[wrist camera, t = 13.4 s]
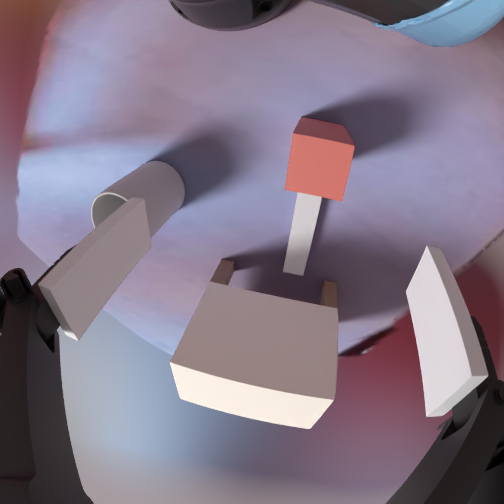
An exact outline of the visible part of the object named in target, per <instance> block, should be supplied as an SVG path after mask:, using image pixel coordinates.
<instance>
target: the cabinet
mask: <svg viewBox="0 0 504 504" xmlns="http://www.w3.org/2000/svg"><path fill="white" fill-rule="evenodd" d="M234 262H235V261H230V260H225V259H222V260H221V262H220V264H219V266H218V267H217V269H216V271H215V273H214V275H213V277H212V279H211V281H210V283H209V285H208V287H207V289H206V291H205V293H204V295H203V297H202V299H201V301H200V303H199V305H198V307H197V309H196V311H195V312H194V314H193V316H192V318H191V320H190V322H189V324H188V326H187V328H186V330H185V332H184V334H183V336H182V339H181V341H180V343H179V345H178V347H177V349H176V351H175V353H174V355H173V357H172V359H171V361H170V365H171V368H172V372H173V375H174V379H175V382H176V386H177V389H178V393H179V396H180V399H183V400H186V401H189V402H192V403H195V404H199V405H202V406H205V407H209V408H212V409H216V410H219V411H223V412H227V413H231V414H235V415H239V416H243V417H247V418H252V419H257V420H261V421H266V422H271V423H276V424H281V425H287V426H293V427H300V428H306V429H310V428H311V427H312V426H313V425H314V424H315V422H316V421H317V420H318V419H319V418H320V417H321V415H322V414H323V413H324V412H325V410H326V409H327V408H328V407H329V405H330V404H331V403H332V402H333V400H334V397H335V393H336V377H337V357H338V286H337V282H332V281H327V280H325V281H324V284H323V287H322V293H321V305H317V304H312V303H307V302H302V301H297V300H292V299H287V298H282V297H277V296H273V295H268V294H263V293H259V292H254V291H250V290H245V289H241V288H236V287H232V286H228V284H229V281H230V279H231V277H232V275H233V272H234Z"/></svg>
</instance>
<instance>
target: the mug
mask: <svg viewBox="0 0 504 504" xmlns="http://www.w3.org/2000/svg"><path fill="white" fill-rule="evenodd" d="M132 197H133V198H142V199H145V207H146V213H147V220H148V226H149V232H150V238H152V236H153V235H154V234H155V233H156V232H157V231H158V230H159V229H160V228H161V227H162V226H163V224H164V223H165V222H166V221H167V220H168V219H169V218H170V217H171V216H172V215H173V214H174V213H175V212H176V211H177V210H178V209H179V208H180V207H181V205H182V203H183V201H184V198H185V186H184V183H183V180H182V178H181V176H180V175H179V173H178V172H177V171H176V170H175V169H174V168H173V167H172V166H171V165H169V164H167V163H165V162H162V161H150V162H147V163H145V164H143V165H142V166H140V167H139V168H137V169H136V170H134V171H133V172H131V173H129V174H128V175H126V176H125V177H123V178H122V179H120V180H119V181H117V182H116V183H114V184H113V185H111V186H110V187H108V188H107V189H105V190H104V191H102V192H101V193H100V194H99V195H98V196H97V197H96V198H95V199H94V201H93V203H92V207H91V217H92V222H93V225H94V227H95V228H96V227H97V226H98V225H99V224H101V223H102V222H103V221H104V220H105V219H106V218H107V217H109V216H110V215H111V214H112V213H113V212H114V211H116V210H117V209H118V208H119V207H120V206H122V205H123V204H124V203H125V202H127V201H128V200H129V199H130V198H132Z"/></svg>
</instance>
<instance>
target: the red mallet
mask: <svg viewBox="0 0 504 504" xmlns="http://www.w3.org/2000/svg"><path fill="white" fill-rule="evenodd" d="M354 148H355V145H354V143H353V141H352V139H351V137H350V136H349V134H348V132H347V130H346V128H345V126H344V125H340V124H336V123H331V122H326V121H322V120H316V119H311V118H306V117H301V118H300V120H299V122H298V124H297V126H296V128H295V130H294V132H293V137H292V144H291V151H290V158H289V165H288V171H287V178H286V185H285V190H289V191H294V192H298V194H297V199H296V205H295V210H294V216H293V221H292V227H291V232H290V237H289V242H288V248H287V253H286V258H285V263H284V268H283V272H286V273H291V274H296V275H301V276H303V274H304V270H305V267H306V263H307V259H308V255H309V251H310V247H311V243H312V238H313V234H314V230H315V226H316V222H317V217H318V213H319V208H320V204H321V199H322V197H324V198H328V199H333V200H338V201H342V200H343V196H344V192H345V188H346V183H347V179H348V175H349V171H350V166H351V162H352V157H353V153H354Z"/></svg>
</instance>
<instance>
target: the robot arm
mask: <svg viewBox="0 0 504 504" xmlns="http://www.w3.org/2000/svg"><path fill="white" fill-rule="evenodd" d="M169 1H170V3H171V5H172V6H173V8H174V9H175V10H176V11H177V13H178V14H180V15H181V16H182V17H183V18H185V19H186V20H188V21H190V22H192V23H194V24H196V25H199V26H202V27H205V28H208V29H212V30H218V31H238V30H244V29H249V28H252V27H256V26H258V25H261V24H263V23H265V22H267V21H269V20H271V19H273V18H274V17H276V16H277V15H279V14H280V13H281V12H282V11H283V10H284V9H285V8H286V7H287V6H288V5H289V4H290V3H291V1H292V0H169ZM307 1H311V2H314V3H318V4H322V5H325V6H328V7H332V8H335V9H338V10H341V11H344V12H347V13H350V14H353V15H355V16H358V17H361V18H363V19H366V20H369V21H371V22H372V24H373V25H375V26H377V27H379V28H383V29H389V30H394V31H397V32H399V33H401V34H403V35H406V36H408V37H410V38H412V39H414V40H416V41H418V42H420V43H423V44H425V45H429V46H432V47H445V46H446V47H455V46H459V45H462V44H465V43H468V42H470V41H473V40H475V39H477V38H478V37H480V36H482V35H483V34H485V33H486V32H488V31H489V30H490V29H491V28H493V27H494V26H495V25H496V24H497V23H499V22H500V21H501V19H502V18H503V17H504V0H307ZM151 246H152V244H151V238H150V232H149V226H148V220H147V213H146V207H145V199H142V198H133V197H132V198H130V199H129V200H128V201H127V202H125V203H124V204H123V205H122V206H120V207H119V208H118V209H117V210H116V211H114V212H113V213H112V214H111V215H110V216H109V217H107V218H106V219H105V220H104V221H103V222H102V223H101V224H99V225H98V226H97V227H96V228H95V229H94V230H93V231H92V232H90V233H89V234H88V235H87V236H86V237H85V238H84V239H83V240H82V241H81V242H80V243H79V244H77V245H76V246H74V247H72V248H70V249H69V250H67V251H66V252H65V253H64V254H63V255H62V256H61V257H60V259H58V260H57V261H56V262H55V263H54V265H52V266H51V267H50V268H49V269H48V270H47V271H46V272H45V273H44V274H43V275H42V276H41V277H40V278H39V279H38V280H37V281H36V282H35V283H34V285H33V286H31V284H30V282H29V280H28V278H27V276H26V274H25V272H24V270H23V269H21V268H16V269H13V270H10V271H8V272H7V273H6V274H5V275H4V276H3V277H2V278H1V279H0V287H1V288H0V504H94V503H93V502H92V501H91V499H90V498H89V497H88V496H87V495H86V493H85V492H84V490H83V487H82V485H81V481H80V478H79V474H78V470H77V467H76V463H75V459H74V455H73V450H72V446H71V441H70V437H69V431H68V426H67V419H66V413H65V407H64V399H63V391H62V380H61V368H60V348H59V334H58V332H57V329H58V327H59V326H61V328H62V329H63V331H64V333H65V334H66V335H67V336H70V337H71V338H73V339H75V340H78V341H79V340H80V338H81V337H82V335H83V334H84V333H85V331H86V330H87V328H88V327H89V326H90V324H91V323H92V322H93V320H94V318H95V317H96V316H97V315H98V313H99V312H100V311H101V309H102V308H103V307H104V305H105V304H106V303H107V301H108V300H109V299H110V297H111V296H112V295H113V293H114V292H115V291H116V290H117V288H118V287H119V286H120V284H121V283H122V282H123V281H124V279H125V278H126V277H127V276H128V274H129V273H130V272H131V271H132V269H133V268H134V267H135V266H136V265H137V263H138V262H139V261H140V260H141V258H142V257H143V256H144V255H145V254H146V252H147V251H148V250H149V249H150V248H151ZM1 289H2V290H1ZM2 291H3V292H4V294H3V292H2ZM406 295H407V299H408V303H409V307H410V312H411V316H412V321H413V325H414V330H415V336H416V341H417V347H418V352H419V358H420V365H421V371H422V379H423V387H424V396H425V407H426V417H428V416H443V415H444V414H446V413H447V412H448V411H449V410H450V409H452V412H453V416H452V417H450V418H449V419H448V420H446V421H445V422H444V423H442V424H441V425H440V426H439V427H438V428H437V429H438V430H439V429H441V428H442V427H444V428H443V429H442V431H441V432H440V434H439V436H438V437H437V439H436V440H435V442H434V443H433V445H432V446H431V448H430V449H429V451H428V452H427V453H426V455H425V456H424V458H423V459H422V460H421V462H420V463H419V464H418V466H417V467H416V468H415V470H414V471H413V473H412V474H411V475H410V476H409V477H408V479H407V480H406V481H405V482H404V483H403V485H402V486H401V487H400V488H399V489H398V490H397V492H396V493H395V494H394V495H393V496H392V497H391V498H390V500H389V501H388V502H387V503H386V504H504V382H503V381H501V380H498V379H497V375H496V371H495V368H494V364H493V361H492V357H491V354H490V351H489V349H488V345H487V341H486V340H485V335H484V333H483V330H482V327H481V326H480V324H479V323H478V321H477V320H476V318H475V317H473V316H470V315H469V312H468V309H467V307H466V304H465V302H464V299H463V297H462V294H461V292H460V290H459V287H458V285H457V283H456V280H455V278H454V276H453V274H452V271H451V269H450V267H449V265H448V263H447V261H446V259H445V257H444V255H443V253H442V251H441V249H440V248H436V247H432V246H426V248H425V251H424V253H423V255H422V258H421V260H420V262H419V265H418V267H417V269H416V271H415V273H414V275H413V277H412V280H411V282H410V284H409V286H408V288H407V290H406Z"/></svg>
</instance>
